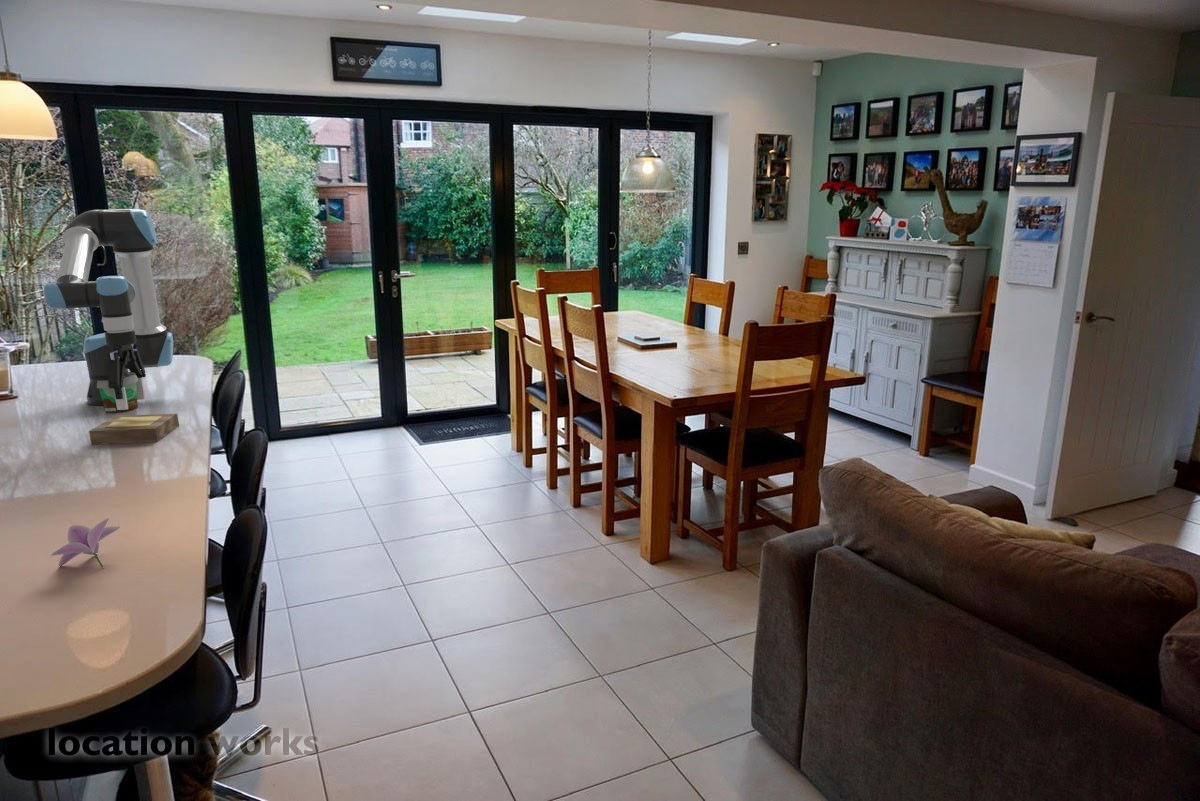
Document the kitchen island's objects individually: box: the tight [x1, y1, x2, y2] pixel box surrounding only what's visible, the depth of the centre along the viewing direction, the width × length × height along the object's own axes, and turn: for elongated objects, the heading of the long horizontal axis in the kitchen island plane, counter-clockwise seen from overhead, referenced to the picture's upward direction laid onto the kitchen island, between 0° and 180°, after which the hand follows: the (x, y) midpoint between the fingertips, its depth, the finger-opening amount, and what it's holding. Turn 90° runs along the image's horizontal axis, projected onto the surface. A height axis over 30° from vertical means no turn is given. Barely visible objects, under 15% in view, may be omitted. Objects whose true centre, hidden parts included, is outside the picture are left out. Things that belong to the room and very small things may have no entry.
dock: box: [88, 413, 180, 445], centre depth 233 cm, size 16×18×4 cm
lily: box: [50, 517, 121, 568], centre depth 152 cm, size 12×12×10 cm
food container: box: [97, 371, 139, 415], centre depth 229 cm, size 12×6×10 cm, turn 167°
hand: (131, 404), depth 231 cm, fingers closed on food container, 11 cm apart
